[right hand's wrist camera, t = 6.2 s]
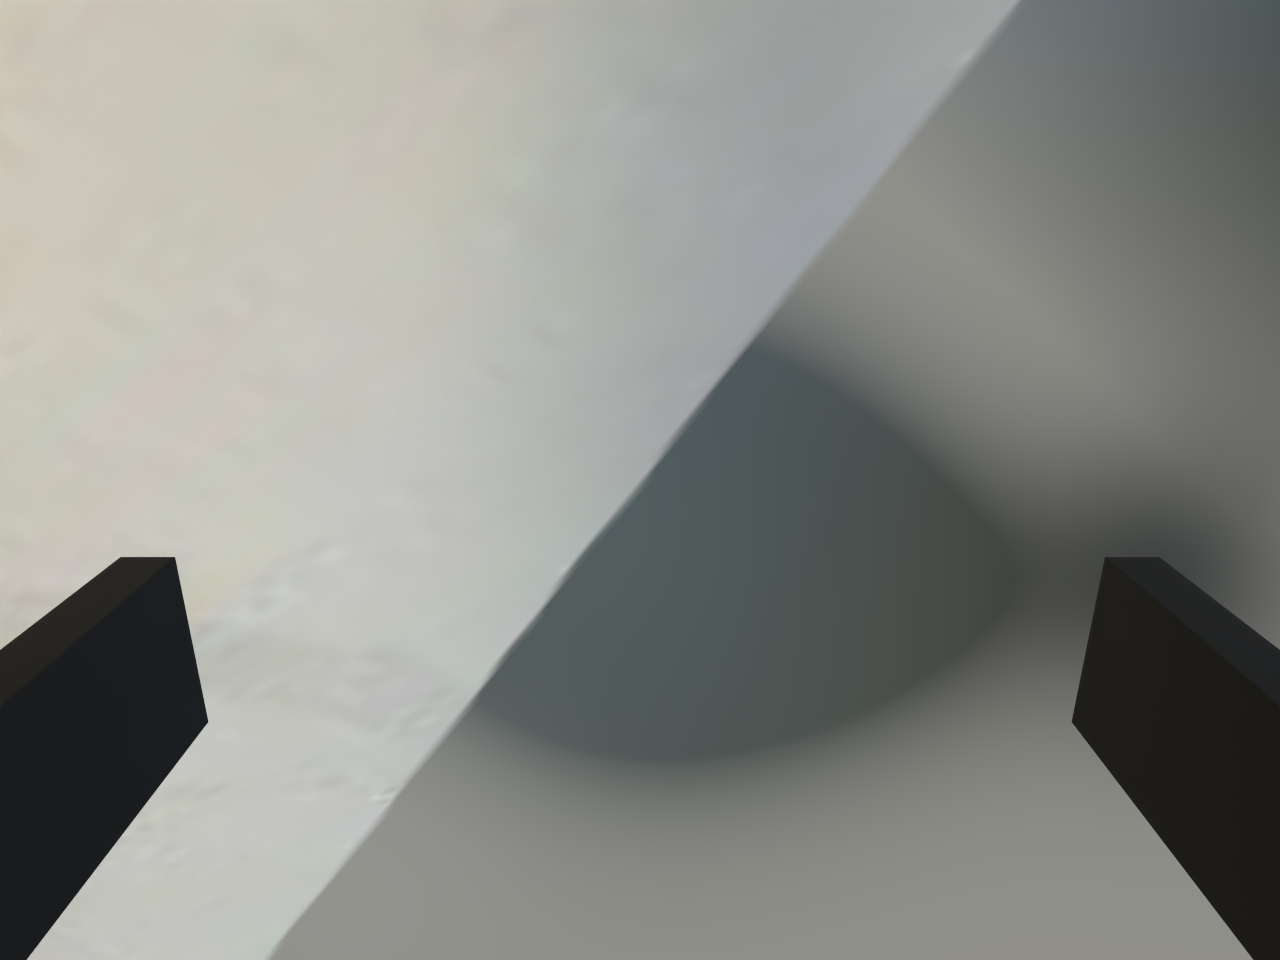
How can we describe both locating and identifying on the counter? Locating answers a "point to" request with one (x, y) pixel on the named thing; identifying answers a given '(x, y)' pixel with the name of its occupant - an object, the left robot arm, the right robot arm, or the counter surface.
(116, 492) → the counter surface
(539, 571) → the counter surface
